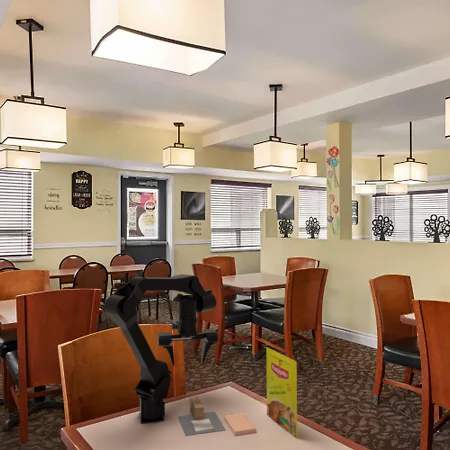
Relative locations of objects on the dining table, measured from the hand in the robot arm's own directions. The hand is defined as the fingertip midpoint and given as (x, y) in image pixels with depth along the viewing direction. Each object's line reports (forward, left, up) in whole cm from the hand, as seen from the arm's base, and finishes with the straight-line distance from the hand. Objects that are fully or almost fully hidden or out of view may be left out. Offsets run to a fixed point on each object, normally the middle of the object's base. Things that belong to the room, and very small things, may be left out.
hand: (188, 364), depth 134 cm
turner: (+1, -15, -12) cm, 19 cm away
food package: (+22, -23, -12) cm, 34 cm away
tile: (+11, -15, -12) cm, 21 cm away
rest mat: (+1, -15, -12) cm, 19 cm away
